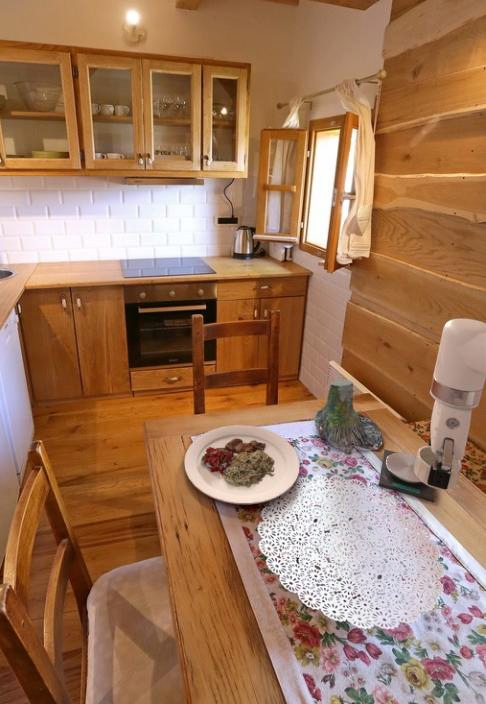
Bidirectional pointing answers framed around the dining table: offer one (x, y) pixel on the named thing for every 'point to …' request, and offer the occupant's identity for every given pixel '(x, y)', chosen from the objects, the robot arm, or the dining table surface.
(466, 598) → the dining table surface
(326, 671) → the dining table surface
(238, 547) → the dining table surface
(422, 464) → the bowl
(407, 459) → the scale pan
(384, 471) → the scale
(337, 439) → the tree stump
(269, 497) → the plated food
